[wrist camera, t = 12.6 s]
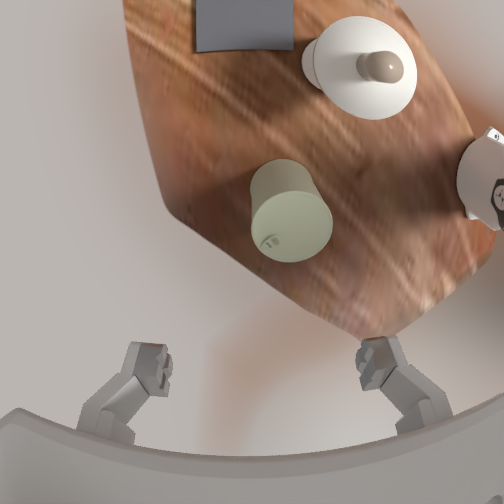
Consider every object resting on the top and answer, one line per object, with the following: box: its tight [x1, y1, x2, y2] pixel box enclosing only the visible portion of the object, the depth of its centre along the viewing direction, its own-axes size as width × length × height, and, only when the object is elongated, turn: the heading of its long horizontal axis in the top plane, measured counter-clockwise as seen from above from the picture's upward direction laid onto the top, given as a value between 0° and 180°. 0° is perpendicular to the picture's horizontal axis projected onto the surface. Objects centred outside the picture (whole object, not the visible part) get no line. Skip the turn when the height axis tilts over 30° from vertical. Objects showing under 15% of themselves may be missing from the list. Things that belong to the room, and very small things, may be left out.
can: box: [250, 159, 333, 262], centre depth 35 cm, size 9×9×12 cm
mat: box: [196, 0, 294, 53], centre depth 24 cm, size 12×12×1 cm
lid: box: [312, 16, 417, 120], centre depth 19 cm, size 11×11×5 cm
